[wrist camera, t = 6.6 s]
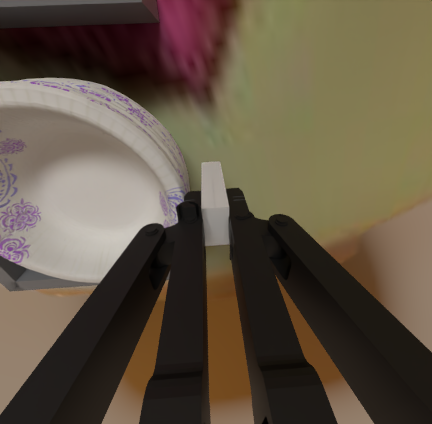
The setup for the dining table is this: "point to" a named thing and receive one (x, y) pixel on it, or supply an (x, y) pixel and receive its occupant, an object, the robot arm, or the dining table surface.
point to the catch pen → (64, 16)
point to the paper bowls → (81, 176)
